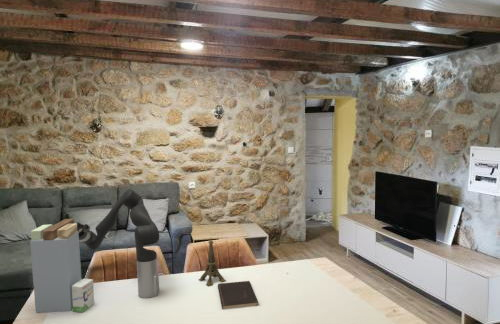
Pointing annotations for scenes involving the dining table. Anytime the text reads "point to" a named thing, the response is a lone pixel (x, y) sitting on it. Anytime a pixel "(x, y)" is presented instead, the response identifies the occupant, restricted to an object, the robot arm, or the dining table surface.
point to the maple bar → (67, 231)
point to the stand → (55, 272)
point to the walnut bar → (55, 229)
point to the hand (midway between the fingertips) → (68, 224)
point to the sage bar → (39, 232)
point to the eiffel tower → (211, 267)
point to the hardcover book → (237, 294)
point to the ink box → (82, 295)
